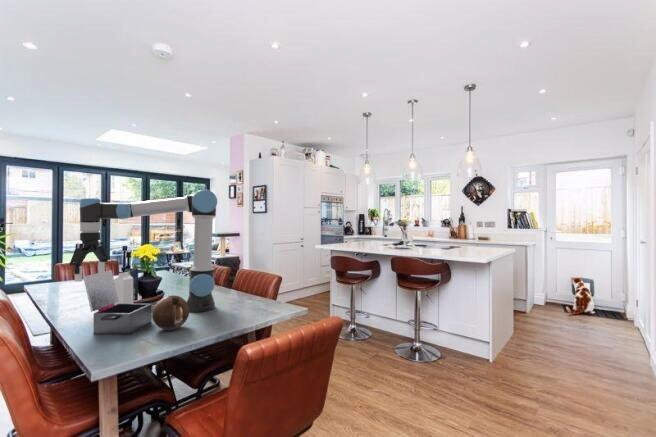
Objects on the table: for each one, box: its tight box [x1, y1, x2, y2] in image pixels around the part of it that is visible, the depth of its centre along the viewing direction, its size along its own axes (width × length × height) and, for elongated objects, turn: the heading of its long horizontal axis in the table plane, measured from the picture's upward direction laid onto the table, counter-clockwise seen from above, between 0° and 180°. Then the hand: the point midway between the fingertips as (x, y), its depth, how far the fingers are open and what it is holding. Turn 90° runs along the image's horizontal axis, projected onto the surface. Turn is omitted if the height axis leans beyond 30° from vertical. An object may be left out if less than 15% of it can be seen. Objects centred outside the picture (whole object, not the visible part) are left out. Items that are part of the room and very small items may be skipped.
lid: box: [82, 269, 119, 313], centre depth 149 cm, size 16×16×3 cm
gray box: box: [93, 303, 152, 336], centre depth 148 cm, size 16×21×9 cm
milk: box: [113, 271, 134, 306], centre depth 168 cm, size 6×6×22 cm
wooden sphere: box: [151, 295, 190, 331], centre depth 147 cm, size 15×15×15 cm
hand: (90, 278), depth 149 cm, fingers open, 13 cm apart
